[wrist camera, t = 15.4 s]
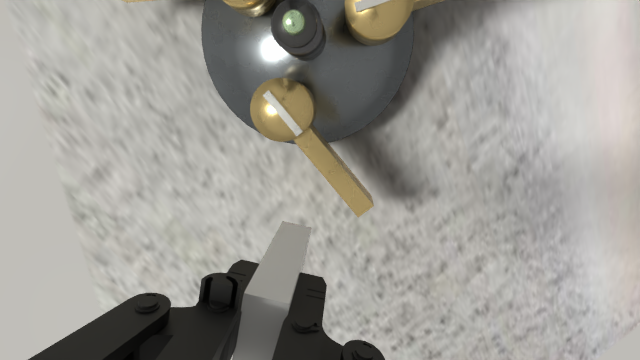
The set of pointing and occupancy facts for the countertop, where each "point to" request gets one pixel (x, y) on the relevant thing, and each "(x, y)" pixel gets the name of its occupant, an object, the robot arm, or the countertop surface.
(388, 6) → the knob
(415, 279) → the countertop surface
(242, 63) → the tribrach plate
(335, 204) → the countertop surface
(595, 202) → the countertop surface
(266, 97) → the knob
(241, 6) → the knob
